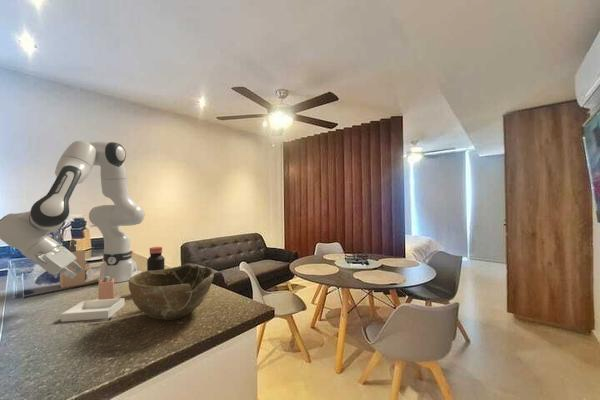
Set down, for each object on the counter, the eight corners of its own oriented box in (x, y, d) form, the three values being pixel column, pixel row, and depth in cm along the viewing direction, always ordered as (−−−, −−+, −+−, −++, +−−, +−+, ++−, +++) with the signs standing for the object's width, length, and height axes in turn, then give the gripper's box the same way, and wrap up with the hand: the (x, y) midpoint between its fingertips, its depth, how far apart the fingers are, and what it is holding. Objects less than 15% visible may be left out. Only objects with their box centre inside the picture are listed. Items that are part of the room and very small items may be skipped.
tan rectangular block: (59, 284, 132) (59, 239, 133) (82, 280, 139) (82, 238, 139) (62, 290, 124) (63, 242, 124) (86, 285, 130) (86, 240, 130)
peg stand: (94, 301, 109) (94, 275, 109) (121, 297, 113) (121, 272, 113) (90, 309, 101) (90, 281, 101) (118, 304, 105) (118, 278, 105)
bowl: (230, 310, 99) (230, 269, 99) (161, 343, 76) (161, 290, 76) (183, 297, 113) (183, 261, 113) (112, 322, 90) (112, 277, 90)
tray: (83, 310, 100) (83, 300, 100) (124, 307, 103) (124, 298, 103) (60, 324, 88) (60, 314, 88) (108, 321, 91) (108, 310, 91)
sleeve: (100, 300, 108) (100, 280, 108) (114, 298, 110) (114, 278, 110) (98, 303, 104) (98, 283, 104) (112, 301, 106) (112, 281, 106)
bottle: (167, 290, 122) (167, 246, 123) (158, 295, 116) (158, 249, 116) (153, 289, 123) (153, 246, 123) (143, 295, 116) (143, 248, 117)
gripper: (41, 248, 90) (78, 273, 95) (60, 240, 108) (90, 262, 113) (23, 262, 88) (62, 288, 92) (45, 252, 106) (77, 274, 110)
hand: (78, 273), depth 103 cm, fingers open, 8 cm apart
